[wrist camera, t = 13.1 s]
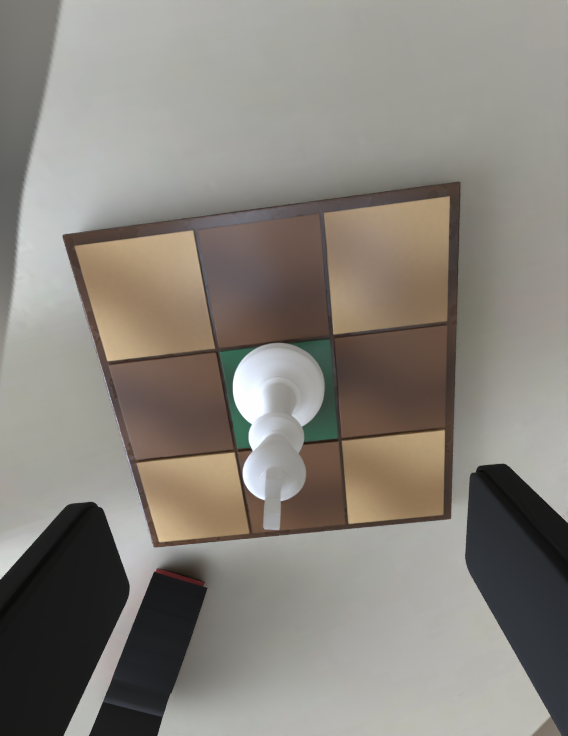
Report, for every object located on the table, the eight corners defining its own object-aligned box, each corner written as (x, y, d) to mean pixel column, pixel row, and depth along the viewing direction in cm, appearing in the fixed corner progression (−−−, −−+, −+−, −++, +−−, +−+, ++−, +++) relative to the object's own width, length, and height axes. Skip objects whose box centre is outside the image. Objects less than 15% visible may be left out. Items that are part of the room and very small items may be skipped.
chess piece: (328, 344, 18) (378, 440, 8) (320, 430, 19) (356, 597, 10) (233, 340, 18) (171, 431, 8) (233, 426, 19) (180, 590, 10)
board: (75, 236, 17) (58, 234, 16) (449, 186, 17) (463, 179, 15) (159, 533, 23) (151, 550, 22) (443, 506, 22) (453, 521, 21)
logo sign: (166, 542, 23) (65, 780, 13) (214, 557, 24) (155, 801, 13) (106, 704, 28) (-3, 973, 18) (147, 714, 29) (65, 984, 18)
